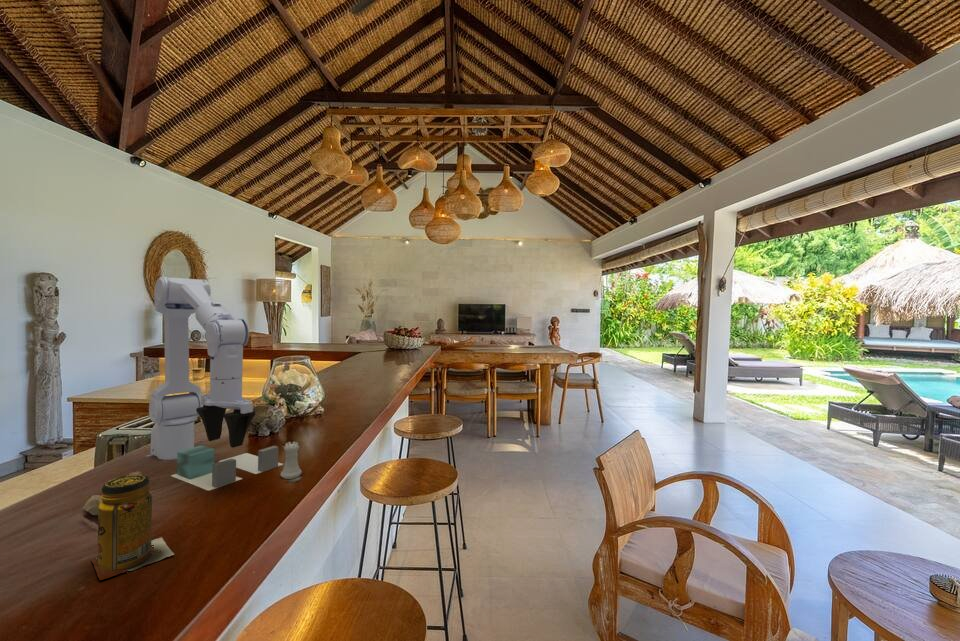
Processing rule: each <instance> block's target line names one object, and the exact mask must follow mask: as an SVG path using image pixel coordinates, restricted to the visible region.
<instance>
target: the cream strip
mask: <svg viewBox="0 0 960 641" xmlns="http://www.w3.org/2000/svg"><path fill="white" fill-rule="evenodd" d="M224 460H225V459H224ZM170 477H172V478H174V479H177V480H180V481H182V482H186V483H188V484H189V485H193V486H195V487H198V488H200V489H203V490H205V491H209V492H210V491H212V490H215V489H218V488H221V487H223V486H226V485H228V484H232V483H235V482H237V481H240V480H243V478H242V477H239V476H237V468H236V460H235V459H229V460H225V461H222V462H216V463H215V464H212V473H209V474H206V475H203V476H200V477H197V478H194V479H187V478H184V477H182V476H179V475H177V473H175V474H172V475H170Z"/></svg>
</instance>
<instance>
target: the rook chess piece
mask: <svg viewBox="0 0 960 641" xmlns="http://www.w3.org/2000/svg"><path fill="white" fill-rule="evenodd" d="M299 449H300V446H299V443H298V441H297V442H296V441H292V442H291V441H288V442H286V443H285V446H284V447H283V450H284V452H285V454H284V455H283V456H284V457H285V460H284V464H283V465H284V467H283V468H282V471H280V477H281V478H282V479H285V480H287V481H285V482H284V484H293V483H297V482H298V481H300V480H301V479H302V477H303V476H302V475H301V474H302V473H303V472H302V469H301V467H300V466H299V462H298V461H299V460H298V455H299V453H298V450H299ZM290 479H291V480H290Z"/></svg>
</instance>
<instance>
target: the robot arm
mask: <svg viewBox="0 0 960 641" xmlns="http://www.w3.org/2000/svg"><path fill="white" fill-rule="evenodd" d="M153 289H154V307H155V311H156V312H158V313H160V314H162V317H163V322H164V323H163V325H164V326H163V327H164V328H163V329H164V330H163V331H164V333H163V334H164V380H165V381H164V382H163V383H161V384H160V385H159V386H157V387H156V388H154V389H153V390H152V391H151V393H150V401H149V404H148V414H149V419H150V420H151V422H153V424H154V425H153V427H152V428H151V432H150V454H148V455H147V454H146V456H145V457H151V456H155V457H157V459H159V460H165V461H166V460H170V461H171V460H177V452H178V451H182V450H186V449H190V448H194V447H195V421H198V418H199V417H200V419H201V421H202V424H203V427H204V430H205V435H206V438H207V441H208V442H212V441H216V440H221V437H222V430H223V422H224V420H225V423H226V426H227V431H228V440H229V445H230V448H237V447H241V446H243V445H244V442H245V437H246V435H247V434H246V433H247V431H248V428H249V425H251V422H252V421H253V419H254V417H255V416H256V410H253V409H254V402H252V401H249V400H248V399H246V398H245V397H243V367H244V366H243V363H244V347H245V346H247V344H248V341H249V338H250V329H249V325H248V323H247V322H246V320H245V319H244V318H235V317H233V315H232V314H231V313H230V311H228V310H227V309H226V307H225V306H224V305H223V304H222V302H220V301H216V300H215V301H214V300H213V299H212V298H211V292H212V291H211V286H210V283H209V281H207V279H204V278H203V279H202V278H201V279H199V278H198V279H196V278H181V277H168V276H164V275H163V276H161V275H160V277H159V278H157V280H156V282H155V286H154V288H153ZM192 314H195V316H194V317H195V319H196V322H198V324H200V326H201V327H202V328H203V329H204V331H205V332H204V333H205V334H204V335H205V343H206V346H207V356H209V357H210V360H209V363H210V364H209V366H210V367H209V372H210V373H209V393H206V394H202V389H201V387H200V386H199V385H197V384H196V383H193V381H190V347H189V346H190V340H189V336H190V335H189V333H190V332H189V319H190V316H191V315H192ZM227 409H228V410H231V411H232V412H228V413H227Z"/></svg>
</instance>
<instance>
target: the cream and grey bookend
mask: <svg viewBox="0 0 960 641" xmlns="http://www.w3.org/2000/svg"><path fill="white" fill-rule="evenodd" d="M229 459H235V460H236V469H239V470H242V471H245V472H248V473H250V474H254V475H257V474H260V473H261V474H262V473H264V472H266V471H269V470H272V469H275V468H277V467H280V466H283V465H284V463H281V462H279V446H277V445H271V446H269V447H265V448H262V449H259V450H257V455H254V454H251V453H248V452H246V453H242V454H238V455H235V456H232V457H228V458H224V459H221V460H218V462H217V463H219V462H222V461H225V460H229Z"/></svg>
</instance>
